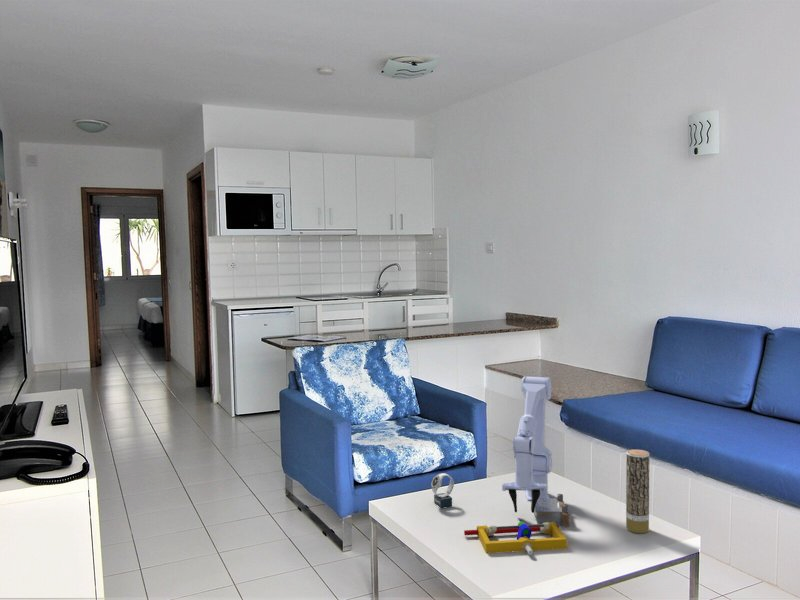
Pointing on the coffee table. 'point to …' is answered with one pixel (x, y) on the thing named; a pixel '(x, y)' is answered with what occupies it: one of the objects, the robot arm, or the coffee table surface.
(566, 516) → the bench stop
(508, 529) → the mechanical clamp
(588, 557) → the coffee table surface
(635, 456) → the brown bark patterned canister
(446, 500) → the watch
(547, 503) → the grey metal block
